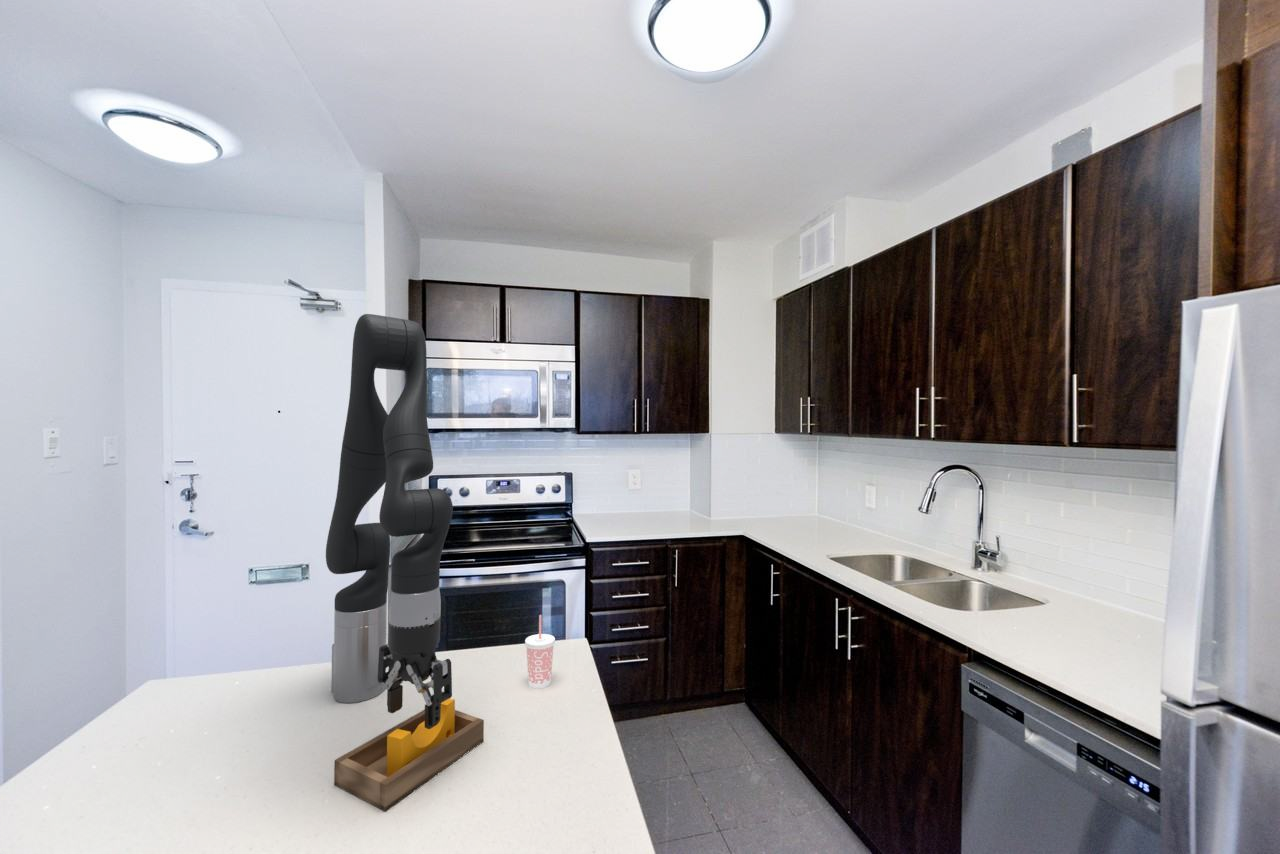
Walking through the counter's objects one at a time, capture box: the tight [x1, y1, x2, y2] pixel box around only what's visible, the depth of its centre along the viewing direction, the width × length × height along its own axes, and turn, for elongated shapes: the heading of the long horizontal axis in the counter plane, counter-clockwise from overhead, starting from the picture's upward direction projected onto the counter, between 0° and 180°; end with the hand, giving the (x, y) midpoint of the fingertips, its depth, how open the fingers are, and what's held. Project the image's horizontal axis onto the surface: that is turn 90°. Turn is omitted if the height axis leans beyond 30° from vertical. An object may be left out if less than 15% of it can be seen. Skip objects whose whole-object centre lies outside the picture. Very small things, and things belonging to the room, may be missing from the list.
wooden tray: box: [333, 709, 485, 812], centre depth 82 cm, size 11×18×4 cm, turn 152°
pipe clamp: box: [387, 698, 456, 777], centre depth 83 cm, size 12×4×6 cm, turn 162°
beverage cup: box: [524, 614, 556, 689], centre depth 108 cm, size 6×6×14 cm
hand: (413, 718), depth 83 cm, fingers open, 8 cm apart
